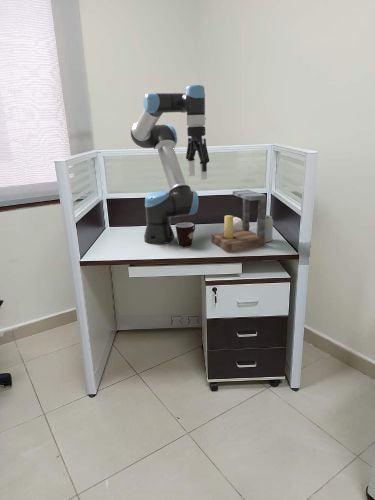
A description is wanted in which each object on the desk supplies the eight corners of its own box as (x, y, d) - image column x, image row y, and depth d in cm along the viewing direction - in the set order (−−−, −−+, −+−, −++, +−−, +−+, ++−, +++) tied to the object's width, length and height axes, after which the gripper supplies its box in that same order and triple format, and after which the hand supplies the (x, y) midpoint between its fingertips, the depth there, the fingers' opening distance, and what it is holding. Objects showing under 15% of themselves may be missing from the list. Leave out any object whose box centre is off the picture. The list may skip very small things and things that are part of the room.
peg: (222, 244, 163) (222, 215, 159) (230, 243, 165) (230, 214, 160) (226, 247, 160) (226, 217, 155) (234, 246, 161) (234, 216, 156)
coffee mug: (181, 249, 159) (180, 228, 156) (173, 244, 167) (172, 224, 163) (203, 244, 164) (202, 224, 161) (194, 240, 172) (193, 220, 168)
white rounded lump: (226, 233, 173) (250, 235, 174) (228, 215, 173) (252, 217, 173) (224, 234, 182) (246, 236, 182) (225, 216, 182) (248, 218, 182)
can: (272, 243, 163) (273, 218, 159) (256, 242, 165) (256, 218, 161) (271, 238, 170) (273, 214, 166) (256, 237, 171) (257, 214, 167)
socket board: (211, 242, 167) (211, 193, 159) (246, 236, 174) (247, 189, 166) (227, 252, 153) (227, 199, 145) (264, 246, 160) (266, 195, 152)
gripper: (217, 125, 136) (217, 180, 143) (193, 126, 158) (194, 173, 165) (199, 126, 133) (200, 182, 140) (177, 126, 155) (179, 174, 162)
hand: (197, 177), depth 153 cm, fingers open, 13 cm apart
